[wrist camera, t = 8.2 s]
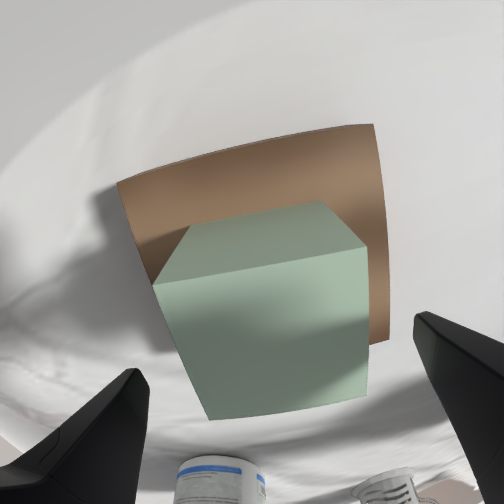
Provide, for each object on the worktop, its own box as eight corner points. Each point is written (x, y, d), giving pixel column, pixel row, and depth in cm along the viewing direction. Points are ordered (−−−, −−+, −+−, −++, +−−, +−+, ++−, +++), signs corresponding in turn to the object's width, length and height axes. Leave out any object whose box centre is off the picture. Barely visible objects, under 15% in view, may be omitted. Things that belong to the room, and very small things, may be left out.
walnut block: (369, 305, 20) (389, 339, 17) (201, 339, 21) (192, 378, 18) (347, 124, 16) (373, 123, 12) (143, 171, 17) (116, 183, 13)
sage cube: (333, 313, 16) (366, 395, 10) (221, 332, 16) (209, 420, 11) (321, 200, 14) (366, 246, 8) (190, 225, 14) (152, 285, 8)
